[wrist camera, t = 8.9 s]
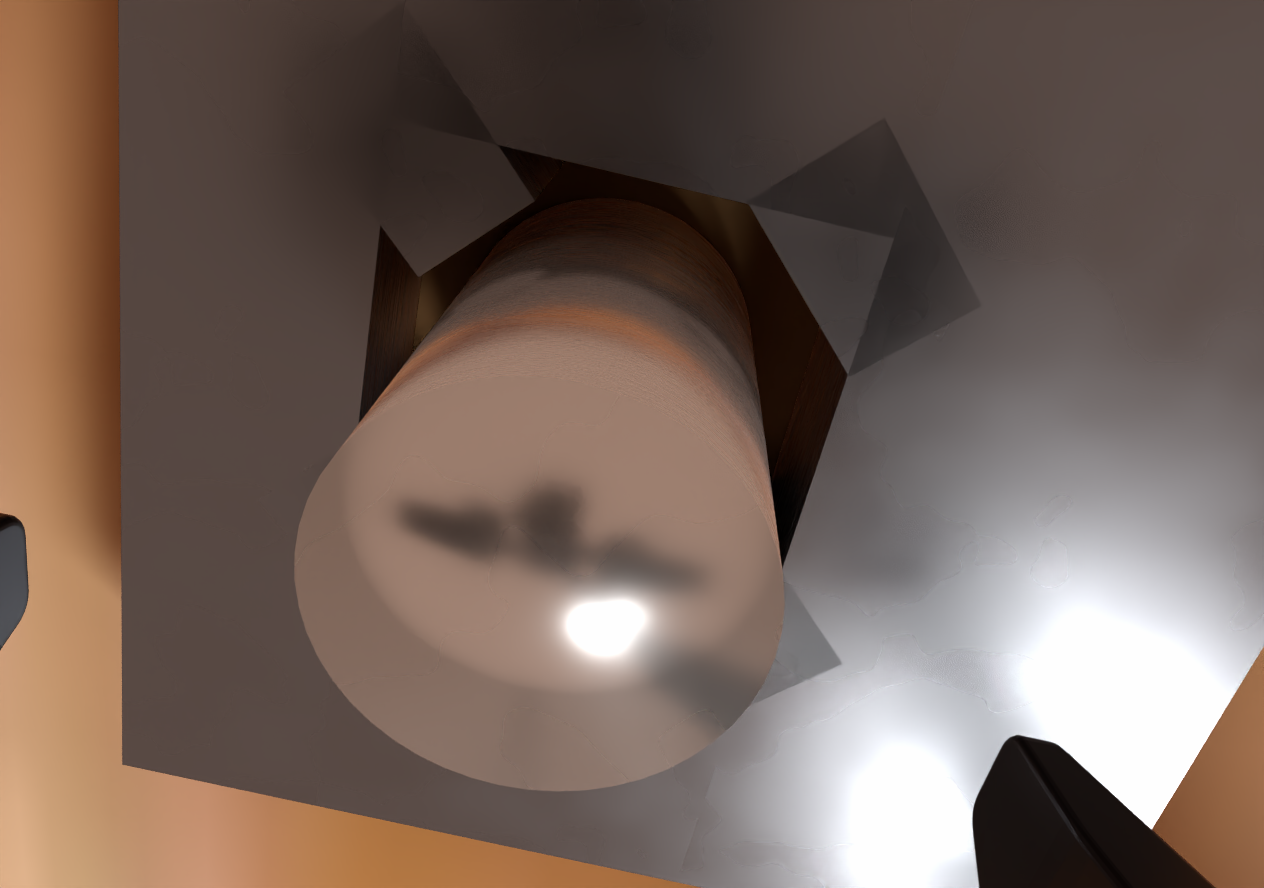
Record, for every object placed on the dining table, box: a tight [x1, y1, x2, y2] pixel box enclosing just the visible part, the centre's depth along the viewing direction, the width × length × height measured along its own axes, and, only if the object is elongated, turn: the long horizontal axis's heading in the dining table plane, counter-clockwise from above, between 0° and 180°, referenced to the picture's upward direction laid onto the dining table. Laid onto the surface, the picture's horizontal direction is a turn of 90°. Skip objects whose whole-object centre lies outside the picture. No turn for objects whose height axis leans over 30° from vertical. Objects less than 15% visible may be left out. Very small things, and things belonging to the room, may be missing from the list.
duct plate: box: [118, 0, 1264, 888], centre depth 16 cm, size 18×18×3 cm
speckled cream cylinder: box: [294, 198, 785, 791], centre depth 14 cm, size 5×5×8 cm
